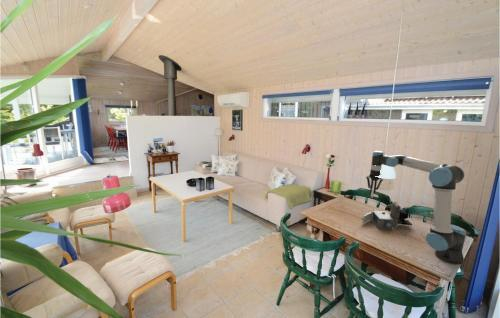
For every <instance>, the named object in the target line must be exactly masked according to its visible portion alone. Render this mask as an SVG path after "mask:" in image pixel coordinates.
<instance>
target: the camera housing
mask: <svg viewBox="0 0 500 318" xmlns="http://www.w3.org/2000/svg"><path fill="white" fill-rule="evenodd" d="M372 212H373V213H372V220H371V221H372V223H374V225H375V226H376V228H377V229H382V230H393V219H392V217H391V216H390V214H389V213H388V212H387V211H385V210H372Z"/></svg>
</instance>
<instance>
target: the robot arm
mask: <svg viewBox="0 0 500 318" xmlns="http://www.w3.org/2000/svg"><path fill="white" fill-rule="evenodd" d="M371 157H372V158H371V166H370V174H369V175H366V180H367V181H366V182H367V187H368V189H370V190H369V192H370V197H371V198H373V197H374V196H375V195H374V194H375V193H376V191H377V190H379V188H380V186H381V184H382V182H383V180H384V178H382V177H381V178H378V177H375V176H379V175H380V176H381V173H380V170H381V171H382V165H383V166H387V167H391V168H395V167H396V166H398V165H399V166H403V167H407V168H409V169H414V170H419V171H422V172H426V173H429V174H428V180H429V182H430V184H431V186H432V187H431V188H432V189H434V201H433V203H434V206H433V221H432V223H433V224H432V225H430V227H429V232H428V233H427V234H426V236H425V240H426V242H427V245H428V246H429V247H430V248H431V249H434V255H435V256H436V257H437V258H438V259H440V260H441V261H444V262H446V263H448V264H452V265H462V264H463V263H464V259H465V258H464V254H463V249H464V244H465V241H466V237H467V231H466V229H464V228H462V227H460V226H457V225H454V224H451V222H452V220H451V219H452V204H453V203H452V202H453V200H452V199H453V192H454V191H455V190H456V187H457V184H459V183H460V182H462V181H463V180H464V178H465V171H464V170H463V169H462V168H461V167H460V166H457V165H452V164H448V163H443V164H441V163H436V162H432V161H427V160H423V159H419V158H415V157H410V156H408V155H405V154H396V155H387V154H384V151H380V150H374V151H373V152H372V156H371ZM375 165H376V166H375ZM378 181H379V182H378ZM377 183H378V184H377Z"/></svg>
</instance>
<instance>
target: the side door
mask: <svg viewBox="0 0 500 318" xmlns="http://www.w3.org/2000/svg"><path fill="white" fill-rule="evenodd" d="M372 214H373V211H370V212H368V213H366V214H364V215H363V216H362V218H361V224H365V223H366V222H369V221H372Z"/></svg>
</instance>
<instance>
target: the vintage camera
mask: <svg viewBox="0 0 500 318" xmlns="http://www.w3.org/2000/svg"><path fill="white" fill-rule="evenodd" d="M401 208H402V207H401V206H400V205H399V204H398V203H397V202H396V201H394V202H392V204H391V209H390V214H389V215H390V216H391V217H392V219H393V226H392V228H397V227H398V225H404V226H408V227H409V226H413V224H412V223H411V222H410V220H409V219H408V218H409V216H410V214H409V213H410V210H409V209H406V211H404V210H402V209H401Z"/></svg>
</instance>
